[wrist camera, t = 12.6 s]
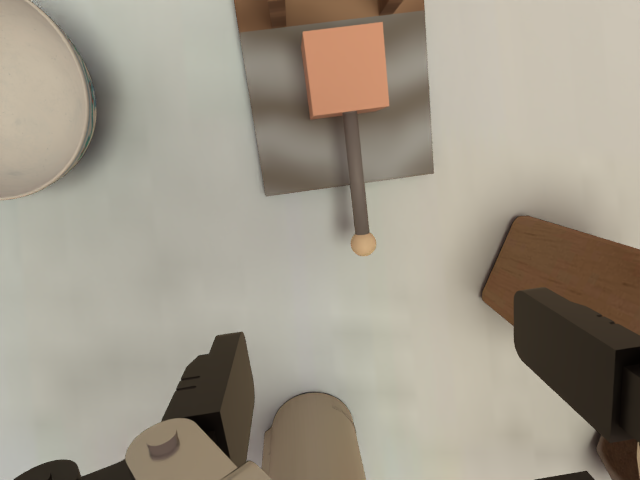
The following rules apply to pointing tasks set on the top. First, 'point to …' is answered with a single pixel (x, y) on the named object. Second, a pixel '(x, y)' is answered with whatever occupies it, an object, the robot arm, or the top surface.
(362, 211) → the cord block
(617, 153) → the top surface
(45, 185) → the chinaware
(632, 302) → the block
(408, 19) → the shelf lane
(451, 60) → the top surface
